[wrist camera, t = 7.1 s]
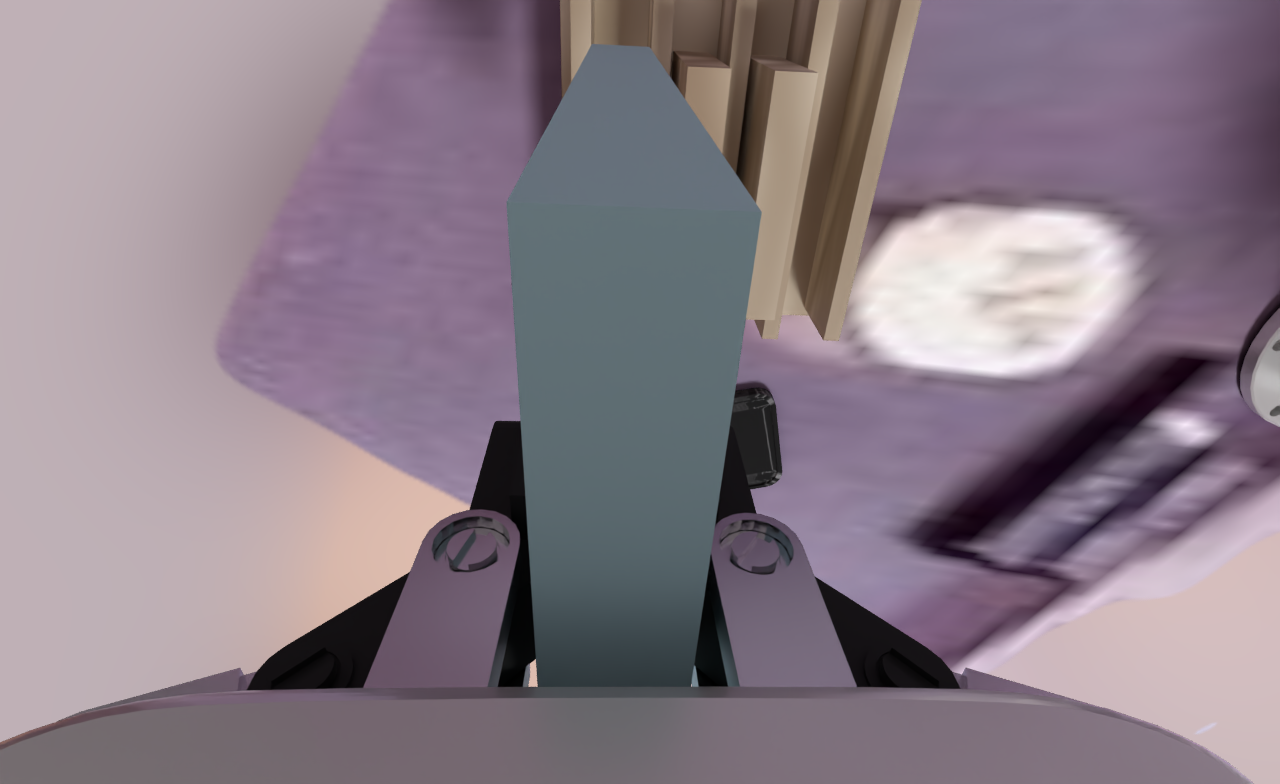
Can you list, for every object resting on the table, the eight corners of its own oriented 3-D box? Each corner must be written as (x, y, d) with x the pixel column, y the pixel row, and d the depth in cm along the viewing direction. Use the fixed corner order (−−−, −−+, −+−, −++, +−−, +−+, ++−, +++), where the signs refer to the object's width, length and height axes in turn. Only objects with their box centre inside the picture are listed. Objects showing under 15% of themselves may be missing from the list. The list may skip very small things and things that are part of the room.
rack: (893, -16, 29) (943, -17, 24) (822, 307, 37) (849, 349, 33) (561, -35, 28) (551, -39, 23) (567, 299, 36) (560, 341, 32)
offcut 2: (777, 56, 29) (818, 72, 23) (747, 263, 34) (774, 320, 28) (743, 53, 29) (775, 70, 23) (718, 262, 34) (739, 319, 28)
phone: (783, 483, 44) (572, 519, 45) (779, 473, 44) (573, 508, 46) (773, 389, 39) (541, 431, 41) (770, 379, 40) (543, 421, 41)
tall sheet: (649, 46, 18) (763, 211, 4) (632, 406, 24) (652, 943, 10) (592, 44, 17) (507, 203, 4) (589, 405, 24) (554, 945, 10)
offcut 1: (708, 52, 29) (731, 68, 23) (689, 261, 34) (703, 318, 28) (673, 50, 29) (687, 66, 23) (659, 260, 34) (668, 317, 28)
